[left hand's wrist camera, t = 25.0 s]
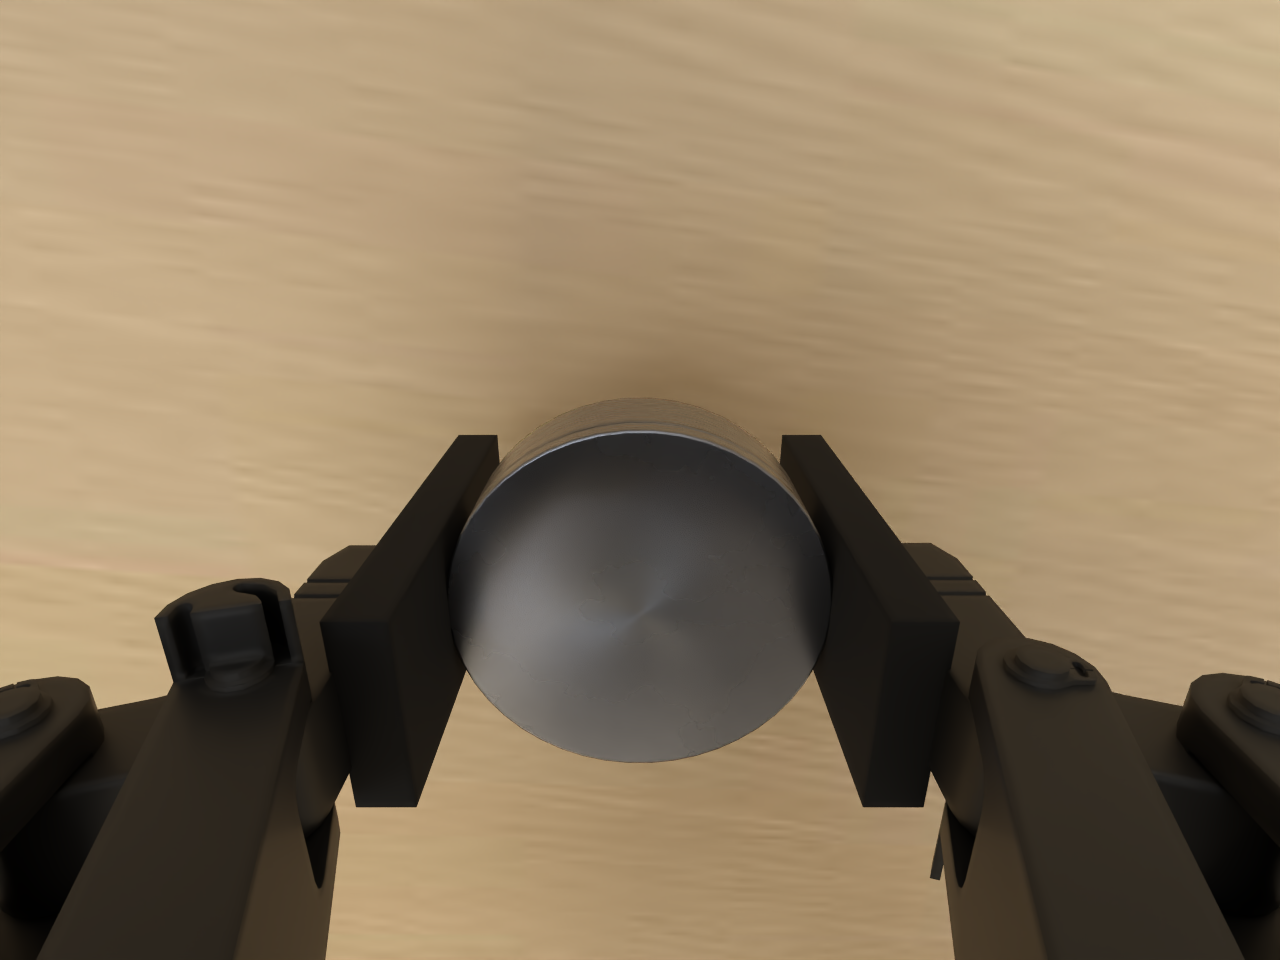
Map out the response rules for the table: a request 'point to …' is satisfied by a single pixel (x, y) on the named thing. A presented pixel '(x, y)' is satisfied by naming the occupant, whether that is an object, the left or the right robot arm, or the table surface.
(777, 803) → the table surface
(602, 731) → the lid
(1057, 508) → the table surface
